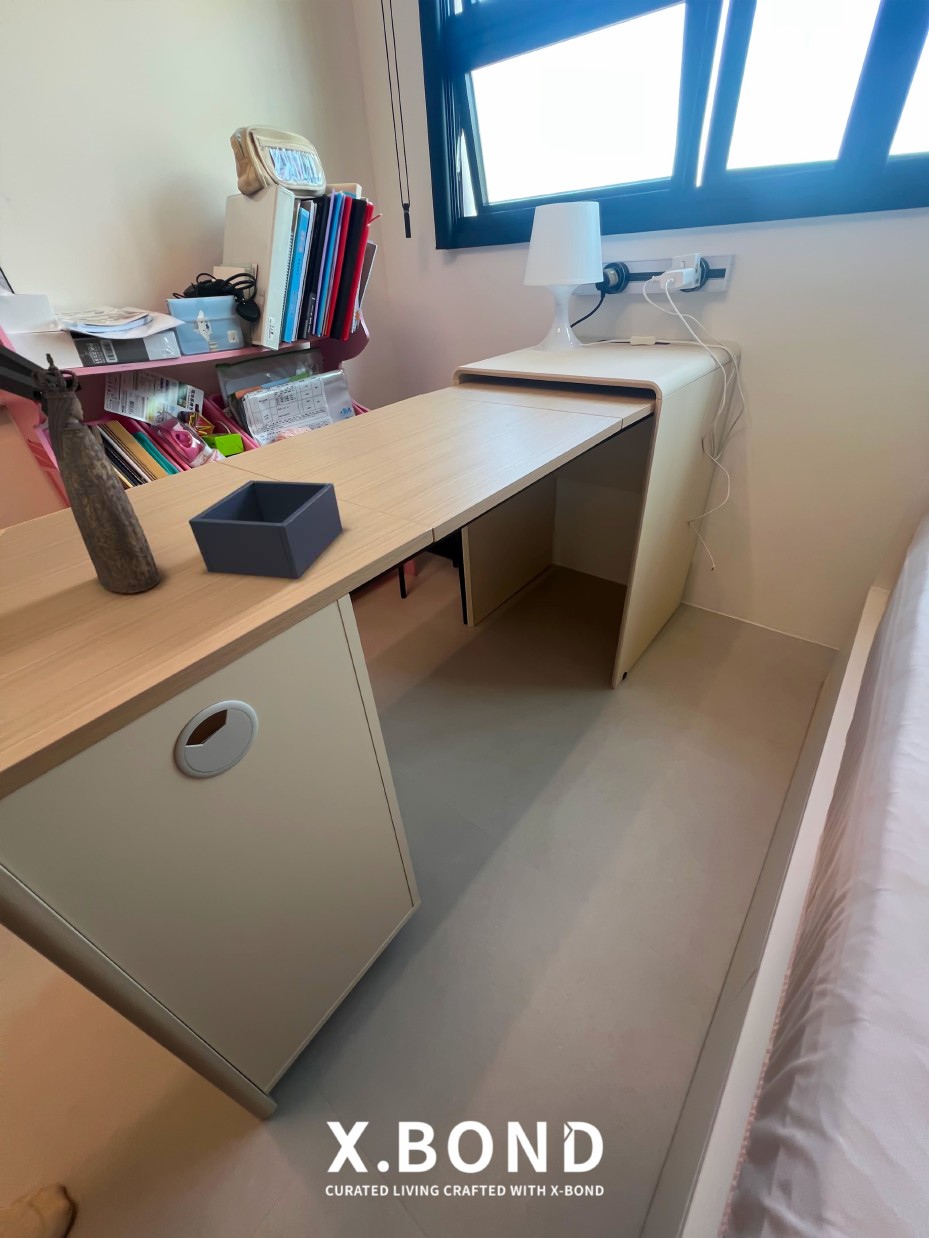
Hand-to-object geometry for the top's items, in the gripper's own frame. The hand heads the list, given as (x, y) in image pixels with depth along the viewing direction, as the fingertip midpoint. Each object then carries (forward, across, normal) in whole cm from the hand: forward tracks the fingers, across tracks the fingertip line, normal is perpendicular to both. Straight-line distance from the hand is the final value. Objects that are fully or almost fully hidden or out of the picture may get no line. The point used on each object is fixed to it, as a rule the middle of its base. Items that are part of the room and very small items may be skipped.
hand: (25, 461), depth 57 cm
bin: (+24, -15, +4) cm, 28 cm away
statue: (+16, -1, -4) cm, 17 cm away
